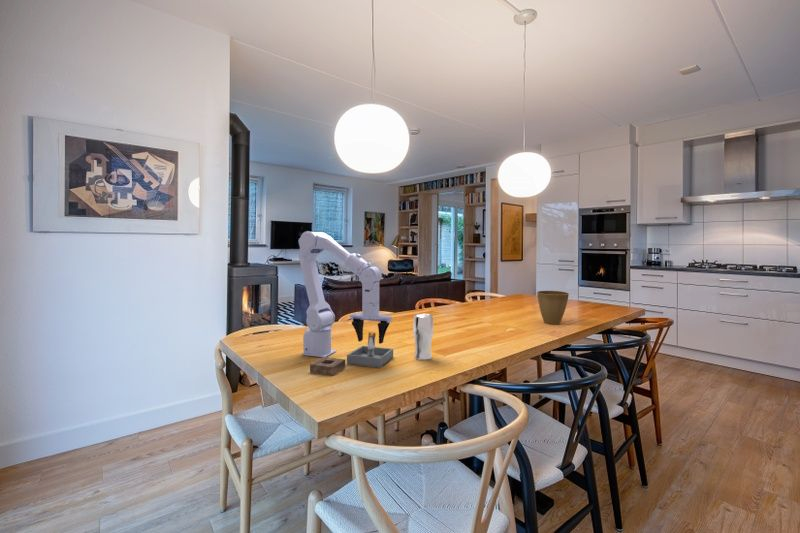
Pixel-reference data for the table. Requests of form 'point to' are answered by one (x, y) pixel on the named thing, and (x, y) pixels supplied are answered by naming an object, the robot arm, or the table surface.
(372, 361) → the tray
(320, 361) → the block
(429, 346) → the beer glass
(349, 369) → the table surface
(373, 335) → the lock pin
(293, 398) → the table surface
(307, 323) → the robot arm
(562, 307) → the plant pot
